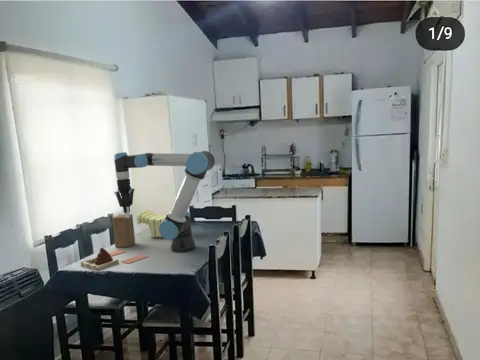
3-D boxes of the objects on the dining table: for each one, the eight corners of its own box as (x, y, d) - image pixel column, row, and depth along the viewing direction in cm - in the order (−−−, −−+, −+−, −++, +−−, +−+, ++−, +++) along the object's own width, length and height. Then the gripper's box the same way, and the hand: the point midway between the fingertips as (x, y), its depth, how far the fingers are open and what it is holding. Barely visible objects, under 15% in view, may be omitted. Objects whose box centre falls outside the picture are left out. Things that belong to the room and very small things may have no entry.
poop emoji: (97, 267, 231) (95, 250, 230) (93, 263, 238) (91, 247, 237) (114, 263, 236) (113, 247, 235) (110, 259, 243) (108, 244, 242)
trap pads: (148, 256, 243) (148, 256, 243) (128, 263, 233) (128, 263, 232) (119, 250, 262) (119, 249, 262) (99, 256, 251) (99, 255, 251)
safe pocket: (118, 263, 235) (118, 259, 235) (97, 270, 225) (97, 266, 224) (102, 258, 246) (101, 255, 246) (81, 265, 235) (80, 262, 235)
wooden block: (128, 247, 267) (125, 217, 264) (114, 247, 269) (111, 217, 266) (135, 243, 277) (132, 213, 274) (122, 243, 279) (119, 214, 276)
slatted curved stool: (138, 238, 288) (136, 213, 286) (149, 232, 304) (147, 208, 302) (178, 238, 281) (176, 213, 279) (187, 232, 296) (185, 208, 294)
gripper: (128, 177, 253) (132, 215, 255) (109, 180, 242) (114, 219, 245) (136, 177, 248) (140, 215, 251) (117, 180, 238) (122, 220, 241)
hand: (127, 217), depth 248 cm, fingers closed
